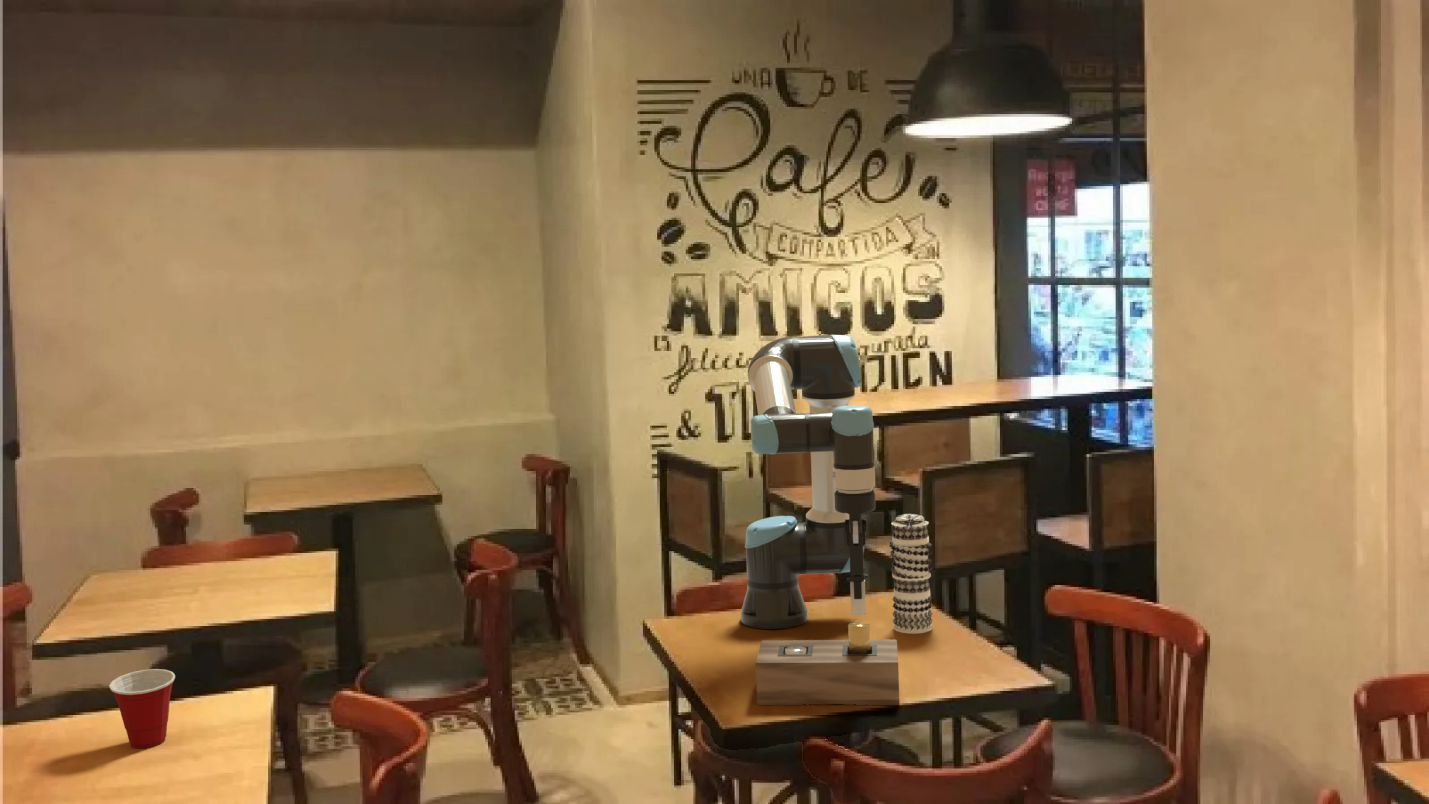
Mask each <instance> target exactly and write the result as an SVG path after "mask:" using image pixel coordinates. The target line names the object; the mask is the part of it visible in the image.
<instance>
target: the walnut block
mask: <svg viewBox="0 0 1429 804" xmlns="http://www.w3.org/2000/svg"><path fill="white" fill-rule="evenodd" d="M791 646H802V647H805V648H806V654H785V648H787V647H791ZM870 653H871V654H849V639H815V640H814V639H806V640H805V639H800V640H797V639H794V640H793V639H787V640H785V639H784V640H783V639H782V640H781V639H780V640H776V639H775V640H774V639H773V640H770V639H769V640H768V639H766V640H761V642H760V646H759V648H758V653H757V656H756V658H755V659H756V660H755V665H754V666H755V683H756V684H755V685H756V686H755V687H756V705H757V706H804V705H803V704H806V705H805V706H810V705H809V704H856V705H855V706H900V684H899V683H900V680H899V679H900V678H899V677H900V675H899V656H898V653H899V652H898V640H897V639H870ZM866 704H867V705H866Z"/></svg>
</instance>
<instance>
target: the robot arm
mask: <svg viewBox="0 0 1429 804" xmlns="http://www.w3.org/2000/svg"><path fill="white" fill-rule="evenodd" d="M861 369H862V368H861V363H860V359H859V354H858V349H857V346H856V342H855V340H854V338H853V337H851V335H850V336H849V335H846V334H823V335H805V336H803V335H802V336H785V337H779V338H777V339H774V340H772V341H770V342H768V343H767V344H765V345H763V346H762V347H761V348H760V349H758V351H757V352H756V353H755V354H754V356H752V358H751V359H750V361H749V365H748V368H747V380H748V384H749V386H750V389H752V390H753V392H754V395H755V403H756V409H757V415H754V416H752V417H751V419H750V438H751V439H750V440H751V449H752V451H753V452H754V453H755V454H758V455H770V456H771V455H776V454H777V455H778V454H779V455H780V454H782V455H783V454H799V453H810V464H811V470H810V472H811V473H810V474H811V504H812V507H811V508H810V509H809V510H808V511H807V512H806V513H805V522H798V520H797V519H796V516H792V515H786V516H785V515H776V516H771V517H766V518H763V519H762V518H761V519H758V520H756V521H754V522H752V523H750V524H748V526H747V528H746V531H745V543H744V548H745V549H746V550H745V551H746V552H745V553H746V579H747V580H746V582H747V585H746V586H747V590H746V591H745V592H746V593H745V596H744V599H743V603H742V605H741V606H742V607H741V610H740V619H741V620H740V621H741V624H743V625H745V626H747V627H749V628H754V629H760V630H761V629H762V630H781V629H788V628H794V627H799V626H801V625H803V624H805V623H806V622H807V621H808V618H809V617H808V608H807V605H806V603H805V600H804V597H803V595H802V592H801V588H800V585H799V575H817V574H818V575H819V574H836V573H837V574H842V573H849V575H850V576H849V577H846V583H850V584H849V587H850V590H849V591H850V613H851V614H850V616H866V615H867V609H866V608H867V607H866V579H869V574H868V573H865V567H864V566H865V565H864V553H865V546H866V532H867V518H863V517H862V514H864V513H865V514H868V513H871V512H873V511H875V510H876V507H877V506H876V491H875V490H874V488H875V487H876V471H875V470H876V467H875V457H874V456H875V455H874V454H875V452H874V449H875V448H874V428H875V423H874V419H873V409H872V408H870V407H869V406H867V405H861V404H860V405H855V404H854V405H849V403H850V402H851V401H852V399H853V398H854V397H855V396H856V395H855V394H856V393H855V392H856V391H855V389H857V388H859V387H861V386H862V383H863V382H862V371H861ZM792 390H793V391H794V390H797V391H798V390H801V393H802V394H801V395H802V396H801V397H802V399H803V400H805V401H806V402H807V404H808V405H809V412H806V413H803V412H802V413H797V409H796V406H795V400H794V397H793V391H792Z"/></svg>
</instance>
